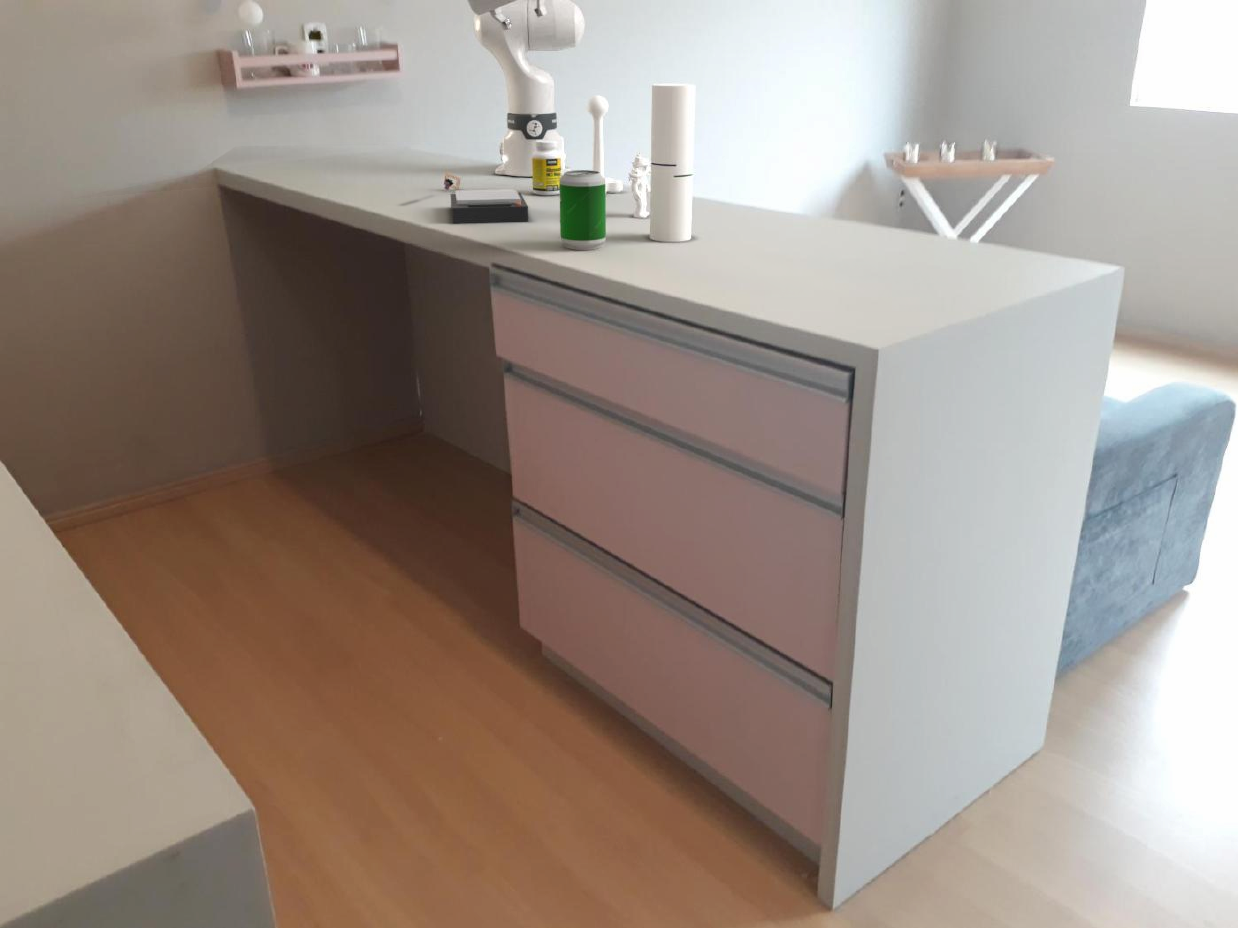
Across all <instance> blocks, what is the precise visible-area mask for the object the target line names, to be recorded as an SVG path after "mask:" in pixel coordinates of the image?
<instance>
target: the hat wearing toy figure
mask: <svg viewBox="0 0 1238 928" xmlns="http://www.w3.org/2000/svg"><path fill="white" fill-rule="evenodd" d="M631 164H632V168H631V172H629V173H628V182H631V185H630V188H631V192H632V195H633V199H634V201H635V202H636V207H635V210H634V211H633V217H634V218H638V219H645V218H647V216H650V211H646V210H647V205H648V203H647V196H648V197H650V189H651V186H650V185H649V181H648V177H650V178H651V163H650V159H648V158H646V157H643V156H642V153H641V151H639V153H638V154H636V156H635V158H634V160H633V161H632V162H631Z"/></svg>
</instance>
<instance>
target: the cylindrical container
mask: <svg viewBox="0 0 1238 928" xmlns="http://www.w3.org/2000/svg"><path fill="white" fill-rule="evenodd" d="M695 110H696V84H692V83H653V84H651V118H650V120H651V123H650V126H651V127H650V134H651V135H650V164H651V166H650V170H651V173H650V175H651V177H650V188H651V189H650V196H649V198H650V199H649V201H650V203H649V210H650V211H649V239H650V240H652V241H656V242H663V243H664V242H665V243H677V242H685V241H690V240H691V239H692V216H693V215H692V211H693V183H694V182H693V180H694V179H693V178H694V177H693V176H694V174H693V173H694V147H695V146H694V145H695V113H696V112H695Z"/></svg>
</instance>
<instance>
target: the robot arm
mask: <svg viewBox="0 0 1238 928" xmlns="http://www.w3.org/2000/svg"><path fill="white" fill-rule="evenodd" d="M467 3H468V5H469V7H470V9H471V11H472V12H473V13H474V16H473V32H474V35H475V37H476V39H477V41H478V42H479V44H480V45H481V46H482V47H483V48H485V49H486V50H487V51H488V52H489V53H491V55H492V56H493V57H494V58H495V59H496V61H497V62H498V64H499V66H500V67H501V70H502V72H503V75H504V78H505V83H506V91H507V102H508V112H507V114H506V116H507V117H506V123H507V124H506V125H507V126H506V128H507V129H508V131H507V133H506V134H505V135H504V136H503V138H502V139H501V141H502V142H500V145H499V154H500V155H501V156H500V160H501V162H502V163H500V164H499V166H498V167H496V168H495V170H494V175H504V176H505V175H506V176H511V177H512V176H513V177H532V178H533V174H532V155H533V153H534V152H535V151H536V150H537V148H535V141H537V140H555V141H557V148H556V151H557V152H559V153H560V155H561V175H564V172H567V171H573V169H572V168H571V167H569V166H566V165H565V159H566V154H565V148H564V147H565V146H564V137H563V136H561V134H559V132H558V131H557V128H558V118H557V117H558V116H557V113H556V112H555V109H556V108H555V82H554V81H555V80H554V79H553V77H552V75H551V74H550V73H549V72H548V71H547V70H545V69H543V68H541V67H540V66H538V65H536V64H533V63H532V62H530V60H529V58H528V56H527V53H528V52H531V51H532V52H533V51H534V52H559V51H563V50H570V49H573V48H576V47H577V46H578V45H579V44H580V43H581V41H582V39H583V37H584V34H585V30H586V29H585V28H586V23H585V16H584V15H583V12H582V10H581V8H580V7H579V6H578V4H576V3H575V2H573V1H571V0H467Z"/></svg>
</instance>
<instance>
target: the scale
mask: <svg viewBox="0 0 1238 928" xmlns="http://www.w3.org/2000/svg"><path fill="white" fill-rule="evenodd" d="M450 209H451V217H452V223H453V224H481V223H482V224H483V223H511V222H512V223H515V222H516V223H517V222H521V223H522V222H529V206H528V204H527V202H526V200H525V199H524V197H523V194H522V192H518V191H517V189H516V188H507V189H502V188H501V189H464V190H462V189H461V190H460V189H459V190H457V189H456V190H455V193H450Z"/></svg>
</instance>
